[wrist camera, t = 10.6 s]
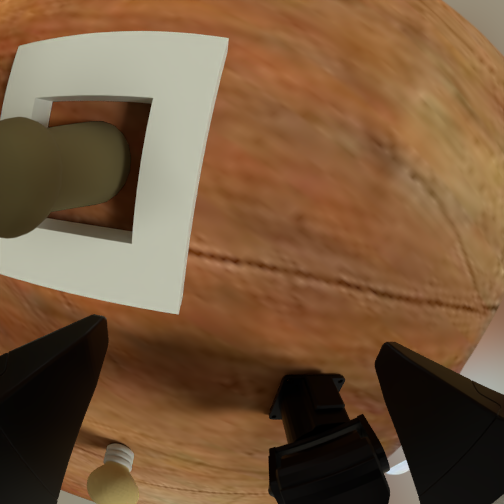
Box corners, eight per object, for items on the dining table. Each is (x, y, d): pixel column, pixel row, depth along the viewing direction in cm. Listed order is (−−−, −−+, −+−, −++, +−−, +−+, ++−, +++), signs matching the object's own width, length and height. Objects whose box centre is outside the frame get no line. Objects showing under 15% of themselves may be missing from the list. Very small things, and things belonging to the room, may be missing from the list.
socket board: (182, 297, 21) (178, 314, 19) (14, 262, 19) (-1, 273, 16) (227, 51, 16) (228, 38, 13) (35, 52, 13) (19, 45, 11)
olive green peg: (116, 106, 16) (19, 73, 6) (143, 184, 18) (62, 225, 8) (49, 144, 16) (-59, 156, 6) (75, 217, 18) (-22, 277, 8)
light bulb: (129, 463, 29) (120, 519, 20) (91, 442, 27) (75, 499, 18) (153, 453, 28) (146, 517, 19) (112, 430, 26) (96, 496, 17)
